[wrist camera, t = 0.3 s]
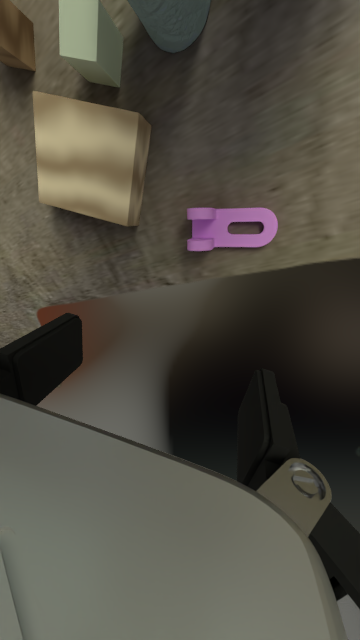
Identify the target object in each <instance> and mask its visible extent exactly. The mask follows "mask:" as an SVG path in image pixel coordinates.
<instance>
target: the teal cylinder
mask: <svg viewBox="0 0 360 640" xmlns="http://www.w3.org/2000/svg"><path fill="white" fill-rule="evenodd" d="M128 2H129V4H130V5H131V7H132V8H133V10H134V11H135V13H136V14H137V15H138V17H139V19H140V21H141V22H142V24H143V25H144V27H145V29H146V31H147V32H148V34H149V36H150V37H151V39H152V40H153V41H154V42H155V44H156V45H157V46H158V47H159V48H160V49H162V50H164V51H167V52H172V53H176V52H177V51H178V52H180V51H182V50H184V49H186V48H187V47H188V46H190V45H191V44H192V43H193V42H194V41H195V40H196V38H197V37H198V36H199V35H200V33H201V32H202V30H203V28H204V25H205V23H206V20H207V16H208V12H209V8H210V2H211V0H128Z"/></svg>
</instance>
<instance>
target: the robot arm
mask: <svg viewBox="0 0 360 640" xmlns="http://www.w3.org/2000/svg"><path fill="white" fill-rule="evenodd" d="M82 352H83V351H82V321H81V320H80V318H79V316H77V315H74V314H70V313H66V314H64V315H62V316H60V317H58V318H56V319H54V320H53V321H51V322H49V323H47V324H45V325H43V326H41V327H40V328H38V329H36V330H34V331H32V332H30V333H28V334H27V335H25V336H23V337H21V338H19V339H17V340H15V341H14V342H12V343H10V344H8V345H6V346H4V347H3V348H1V349H0V640H360V534H359V532H358V531H357V530H356V529H355V528H354V527H353V526H352V525H351V524H350V523H349V522H348V521H347V520H346V519H345V518H344V517H343V515H342V514H341V513H340V512H339V511H338V510H337V509H336V508H335V507H334V506H333V505H332V504H331V503H330V500H331V489H330V487H329V485H328V482H327V481H326V480H325V478H324V476H323V475H322V474H321V473H320V472H319V471H318V469H317V468H315V467H314V466H313V465H311V464H310V463H308V462H307V461H304V460H302V459H300V455H299V451H298V447H297V444H296V439H295V435H294V431H293V427H292V423H291V419H290V416H289V411H288V408H287V406H286V405H285V404H282V403H281V402H280V398H279V394H278V389H277V385H276V380H275V375H274V372H272V371H269V370H265V369H260V371H258V370H256V371H255V373H254V375H253V378H252V380H251V382H250V385H249V387H248V390H247V392H246V394H245V397H244V399H243V402H242V404H241V406H240V409H239V412H238V453H237V456H238V457H237V481H235V480H233V479H231V478H228V477H226V476H224V475H222V474H219V473H217V472H214V471H212V470H209V469H207V468H204V467H201V466H199V465H196V464H194V463H191V462H189V461H186V460H183V459H181V458H178V457H175V456H173V455H170V454H167V453H164V452H162V451H159V450H156V449H153V448H151V447H148V446H146V445H143V444H140V443H137V442H135V441H132V440H129V439H126V438H124V437H121V436H118V435H115V434H113V433H110V432H107V431H105V430H102V429H99V428H96V427H93V426H91V425H88V424H85V423H82V422H79V421H76V420H74V419H71V418H69V417H66V416H63V415H60V414H57V413H55V412H51V411H49V410H46V409H43V408H40V407H38V406H36V405H37V404H38V403H40V402H41V401H42V400H43V399H44V398H45V397H46V396H47V395H48V394H49V393H51V392H52V391H53V390H54V389H55V388H56V387H57V386H58V385H59V384H60V383H62V382H63V381H64V380H65V379H66V378H67V377H68V376H69V375H70V374H71V373H72V372H73V371H75V370H76V369H77V368H78V367H79V366H80V365H81V363H82V360H83V353H82Z"/></svg>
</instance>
